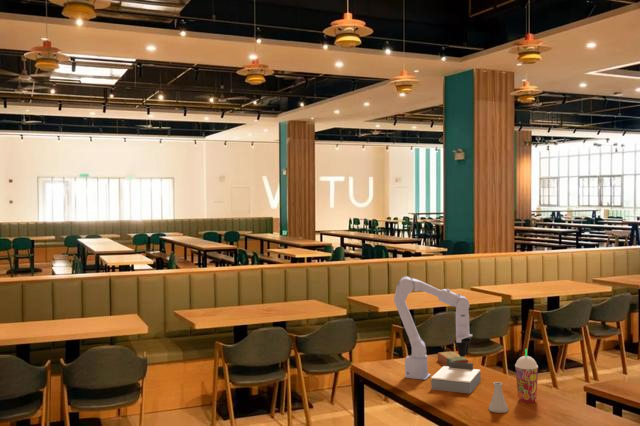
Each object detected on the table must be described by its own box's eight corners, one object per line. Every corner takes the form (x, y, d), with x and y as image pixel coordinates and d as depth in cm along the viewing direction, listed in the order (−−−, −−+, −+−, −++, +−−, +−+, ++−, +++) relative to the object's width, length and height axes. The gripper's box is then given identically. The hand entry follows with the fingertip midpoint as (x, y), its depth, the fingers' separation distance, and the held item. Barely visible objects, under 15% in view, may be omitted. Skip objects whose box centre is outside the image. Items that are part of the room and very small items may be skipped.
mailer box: (431, 389, 262) (431, 379, 262) (443, 377, 278) (443, 368, 278) (470, 393, 255) (470, 383, 255) (480, 381, 271) (480, 371, 271)
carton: (453, 359, 308) (453, 350, 308) (468, 368, 292) (468, 359, 292) (437, 361, 306) (437, 352, 306) (452, 370, 290) (451, 360, 290)
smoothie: (511, 399, 246) (509, 348, 246) (528, 396, 250) (527, 345, 249) (526, 405, 239) (524, 352, 238) (543, 402, 242) (542, 349, 241)
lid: (431, 378, 262) (430, 371, 262) (443, 367, 278) (443, 360, 278) (470, 383, 255) (469, 375, 255) (480, 370, 271) (480, 363, 271)
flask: (509, 407, 238) (508, 381, 237) (508, 414, 231) (507, 386, 230) (489, 406, 240) (488, 379, 240) (487, 412, 233) (486, 385, 233)
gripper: (467, 328, 269) (468, 360, 269) (475, 321, 282) (476, 352, 282) (451, 327, 272) (452, 358, 272) (459, 320, 285) (460, 350, 285)
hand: (463, 355), depth 278 cm, fingers open, 3 cm apart
